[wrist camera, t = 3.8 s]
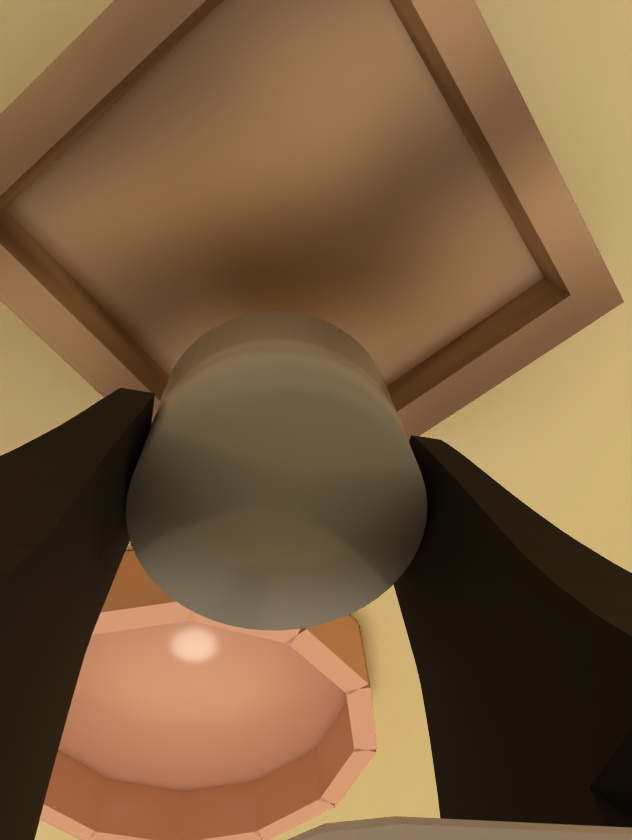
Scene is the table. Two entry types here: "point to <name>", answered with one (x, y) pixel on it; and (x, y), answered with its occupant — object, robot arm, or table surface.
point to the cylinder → (276, 477)
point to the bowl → (207, 723)
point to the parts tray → (292, 194)
